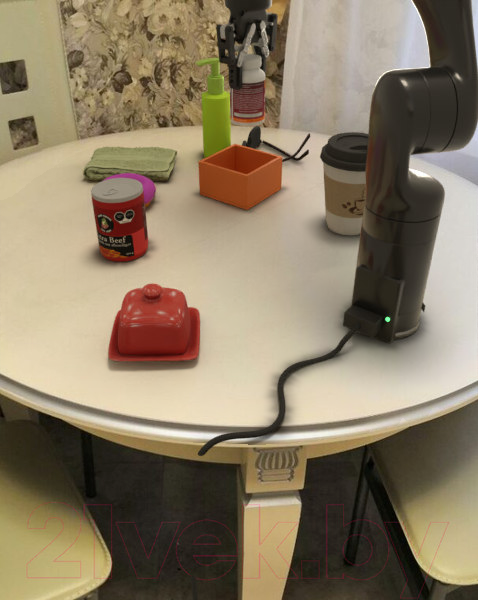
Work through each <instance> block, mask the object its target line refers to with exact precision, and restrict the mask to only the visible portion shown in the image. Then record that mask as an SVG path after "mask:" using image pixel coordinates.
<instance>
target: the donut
mask: <svg viewBox="0 0 478 600" xmlns="http://www.w3.org/2000/svg"><path fill="white" fill-rule="evenodd" d="M113 178H130V179H135V180H137V181H139V182H140V183H141V184H142V186H143V192H144V201H145V209H146V208H147V207H148V206H150V205H151V202H152V200H153V198H155V196H156V190H157V187H156V184H155V183H154V181H151V180H150V179H148V178H146V177H144V176H142V175H139V174H134V173H123V174H117V175H113V176H110V177H107V178H106V179H104V180H108V179H113ZM104 180H102V181H104Z"/></svg>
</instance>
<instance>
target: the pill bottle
mask: <svg viewBox="0 0 478 600" xmlns="http://www.w3.org/2000/svg"><path fill="white" fill-rule="evenodd" d="M237 55H238V54H235V58H237ZM261 64H262V62H261V56H259V55H255V54H254V53H245V55H244V58H243V62H242V65H241V66H242V88H241V89H239V90H236V89H232V88H230V87H229V93H230V120H231V124H233V125H235V126H238V127H243V128H248V127H249V128H251V127H252V128H254V127H255V126H260V125H262V124H264V122H265V119H266V76H265V73H264V71H263V70H261V69H260V67H261Z"/></svg>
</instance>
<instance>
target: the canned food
mask: <svg viewBox="0 0 478 600" xmlns="http://www.w3.org/2000/svg"><path fill="white" fill-rule="evenodd" d="M90 192H91V194H90V195H91V204H92V209H93V216H94V222H95V229H96V237H97V241H98V248H99V251H100V253H101V255H102V257H103V258H104V259H106V260H108V261H111V262H119V263H120V262H121V263H122V262H129V261H133V260H137V259H139V258H140V257H143V255H145V254H146V253H147V251H148V247H149V234H148V233H149V232H148V225H147V224H148V223H147V222H148V221H147V213H146V208H145V201H144V192H143V186H142V184H141V183H140V182H139V181H137V180H135V179H130V178H113V179H108V180H104V181H103V180H102V181H99V182H97V183H95V184H94V185H93V186H92V187H91V190H90Z"/></svg>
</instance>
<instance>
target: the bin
mask: <svg viewBox="0 0 478 600" xmlns="http://www.w3.org/2000/svg"><path fill="white" fill-rule="evenodd" d="M282 159H284V158H283V155H278V154H276V153H275V154H274V153H272V152H267V151H264V150H260V149H257V148H255V149H253V148H249V147H246V146H242V144H238V143H233V144H231V146H229V147H227V148H225V149H223V150H221V151H219V152H217V153H215V154H213V155H211V156H209V157H207V158H205V157H203V159H201V160H199V161H198V162H197V163H198V184H199V185H198V187H199V195H201V196H204V197H207V198H209V199H212V200H216V201H219V202H222V203H225V204H227V205H231V206H233V207H237V208H239V209H242V210H244V211H245V210H246V211H249V210H251V208H253V207H255V206H256V205H259V203H261V202H263V201H264V200H266V199H267V198H269V197H270V196H272V195H275V193H277V192H279V191H281V190H282V181H283V180H282V179H283V162H282Z"/></svg>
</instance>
